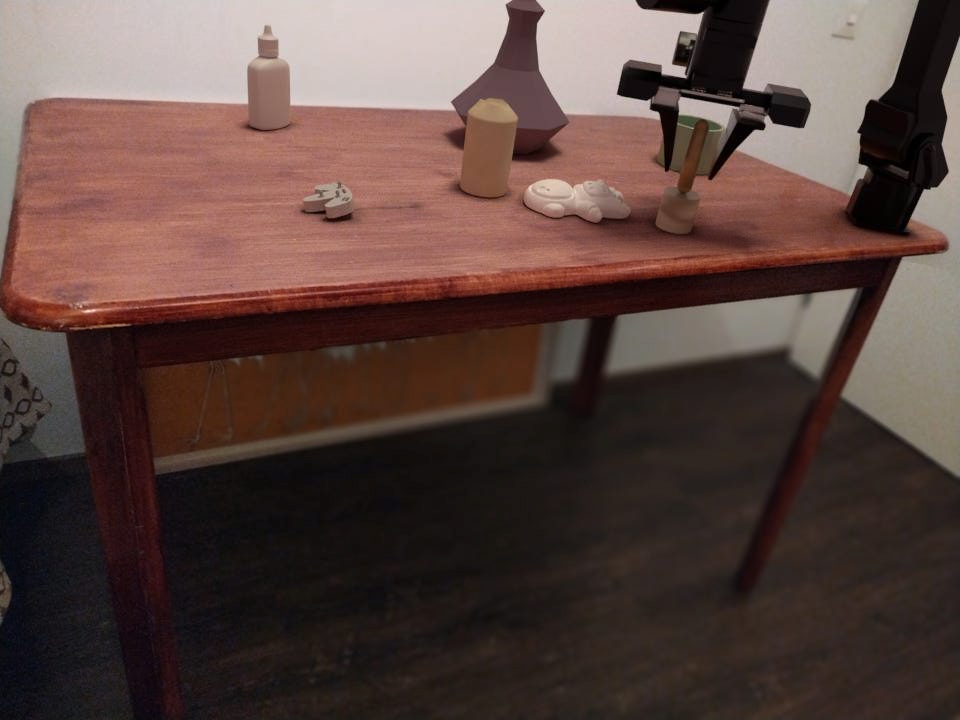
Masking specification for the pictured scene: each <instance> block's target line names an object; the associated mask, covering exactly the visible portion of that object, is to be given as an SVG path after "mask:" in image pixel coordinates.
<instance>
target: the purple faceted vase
mask: <svg viewBox="0 0 960 720" xmlns="http://www.w3.org/2000/svg"><path fill="white" fill-rule="evenodd" d="M505 8H506V12H507V16H508V22H507V27H506V31H505V35H504V36H503V40H502V42H501V44H500V47H499V49H498V52H497V54H496V56H495V60H494V62H493V63H492V64H491V65H490V66H489V67H488V68H487V69H486V70H485V71H484V72H483V73H482V74H481V75H480V76H479V77H478V78H477V79H476V80H475V81H474V82H473V83H471V84H470V85H469V86H467V87H466V88H465V89H464V90H463V91H462V92H460V93H459V94H458V95H457V96H456V97H454V98H453V99H452V100H451V101H450V103H451V105H452V106H453V108H454V110H455V111H456V114H457V115H458V117H459V118H460V120H461V122H462V123H463V125H464V126H465V127H466V126H467V117H468V111H469V110H470V109H471V108H472V107H473V106H474V105H475V104H476V103H477V102H478V101H479V100H480V99H483V100H486V99H488V98H493V99H502V100H504V101H505V102H506V103H507V104H508V105H509V106H510V108H511V109H512V110H513V111H514V113H515V114H516V116H517V117H518V122H517V128H516V135H515V141H514V148H513V154H518V155H527V154H530V153H532V152H535V151H537V150H540V149H541V147H542V146H544V145H545V144H546V143H548V142H549V141H550V140H551V139H552V138H553V137H554V136H556V135H557V134H558V133H559V132H560V131H561V130H562V129H564V128H565V127H566V126H567V125H568V124H570V120H569V118H568V117H567V115H566V114H565V113H564V111H563V109H562V108H561V106H560V104H559V103H558V101H557V100H556V99H555V97H554V95H553V94H552V92H551V90H550V88H549V86H548V83H547V82H546V81H545V78H544V77H543V75H542V73H541V71H540V64H539V55H538V54H539V52H538V43H537V42H538V41H537V34H538V23H539V21H541V19H542V17H543V15H544V14H545V12H546V10H545V9H544V8H543V7H542V5H541V4H540V3H539V2H538V1H537V0H510V1H509V2H507V3H505Z"/></svg>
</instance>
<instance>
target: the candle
mask: <svg viewBox="0 0 960 720" xmlns="http://www.w3.org/2000/svg"><path fill="white" fill-rule="evenodd" d="M517 122H518V117H517V116H516V114H515V113H514V111H513V110H512V109H511V108H510V106H509V105H508V104H507V103H506V102H505V101H504V100H502V99H493V98H488V99H486V100H483V99H480V100H479V101H478V102H477V103H476V104H475V105H474V106H473V107H472V108H471V109H470V110H469V111H468V117H467V126H465V137H464V142H463V143H464V144H463V152H462V153H463V154H462V159H461V160H462V161H461V169H460V179H459V188H460V189H461V190H462V191H463V192H464V193H468V194H469V195H472V196H475V197H481V198H500V197H503V196H505V195H506V193H507V191H508V186H509V180H510V175H511V174H510V173H511V166H512V162H513V161H512V159H513V154H514V153H513V148H514V141H515V135H516V128H517Z"/></svg>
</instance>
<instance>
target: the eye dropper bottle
mask: <svg viewBox="0 0 960 720" xmlns="http://www.w3.org/2000/svg"><path fill="white" fill-rule="evenodd" d="M279 52H280V49H279V38H278V37H277V36H275V35H274V34H273V31H272V25H271V24H264V27H263V33H262V34H261V35H258V36H257V54H258V55H257V57H255V58H253V59H252V60H250V62H249V63H248V64H247V68H246V69H247V70H246V75H247V78H246V79H247V81H246V82H247V106H248V107H247V108H248V124H249V126H250V127H252V128H253V129H257V130H260V131H272V130H278V129H279V130H280V129H282V128H285V127H288V126H290V123H291V70H290V64H289V62H288V61H287V60H285V59H283V58H281V57H279V55H280V53H279Z"/></svg>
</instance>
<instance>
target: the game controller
mask: <svg viewBox="0 0 960 720" xmlns="http://www.w3.org/2000/svg"><path fill="white" fill-rule="evenodd" d="M313 189H314V194H312V195H309V196H306V197H304V198H302V204H303V208H304V212H305V213H315V212H316V213H317V212H323V211H325V214H326V217H327V219H336V218H339V217H342V216H346V215H349V214H351V213H353V212H354V209H355V203H354V199H353V198H354V196H353V192H352V191H351V190H350V188H349V187H347V186H346V185H344V184H342V180H338V181H337V182H332V183H325V184H318V185H315V186H314V188H313ZM368 197H369V195H366V196H365V195H364V196H363V197H362V198H360V199H359V201H362V200H363V199H364V198H368ZM372 197H375V198H379V199H380V197H379V196H374V195H372ZM381 201H382V202H383V203H384V204H387V205H391V203H390V202H389V203H387V202H384V201H383V200H381ZM403 201H405V199H401V200H400V201H398V202H396V203H395V202H394V205H398V204H400V203H401V202H403ZM409 201H411V202H414V203H416V205H415V206H416V207H417V206H418V202H416V201H415V200H411V199H409Z"/></svg>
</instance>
